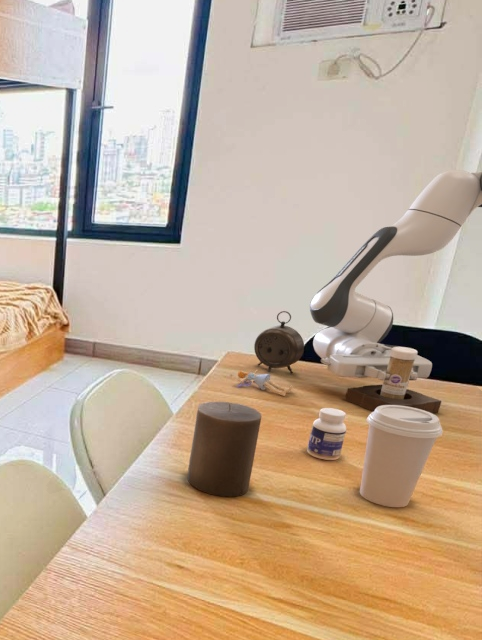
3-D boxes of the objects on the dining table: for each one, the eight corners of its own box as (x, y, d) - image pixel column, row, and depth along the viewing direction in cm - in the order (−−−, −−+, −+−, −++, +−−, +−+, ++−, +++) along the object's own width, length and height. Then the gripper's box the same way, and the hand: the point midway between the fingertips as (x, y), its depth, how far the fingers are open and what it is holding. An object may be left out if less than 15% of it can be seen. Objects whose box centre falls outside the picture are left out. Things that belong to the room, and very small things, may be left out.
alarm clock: (299, 373, 165) (312, 313, 159) (289, 377, 162) (302, 316, 156) (257, 364, 173) (268, 306, 168) (247, 367, 170) (257, 309, 165)
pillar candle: (238, 503, 103) (254, 419, 98) (178, 484, 109) (190, 404, 104) (255, 481, 110) (270, 402, 105) (197, 465, 116) (209, 389, 111)
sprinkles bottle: (378, 407, 141) (393, 350, 137) (375, 401, 145) (390, 345, 140) (403, 410, 139) (419, 352, 134) (400, 404, 143) (416, 347, 138)
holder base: (387, 394, 149) (390, 383, 148) (440, 413, 137) (444, 401, 136) (342, 399, 146) (345, 387, 145) (393, 419, 135) (396, 406, 134)
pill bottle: (302, 447, 122) (311, 405, 119) (332, 449, 121) (342, 407, 118) (313, 459, 117) (323, 415, 114) (344, 461, 116) (355, 417, 113)
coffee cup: (357, 506, 101) (379, 420, 96) (342, 480, 110) (362, 400, 105) (429, 516, 98) (457, 428, 93) (408, 489, 106) (432, 406, 101)
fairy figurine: (282, 386, 145) (230, 369, 154) (275, 405, 147) (225, 387, 156) (301, 376, 152) (250, 360, 160) (294, 393, 154) (245, 377, 162)
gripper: (319, 346, 151) (354, 363, 138) (409, 346, 150) (453, 363, 137) (314, 370, 153) (347, 390, 141) (402, 371, 152) (444, 391, 139)
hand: (400, 377), depth 139 cm, fingers closed on sprinkles bottle, 4 cm apart
